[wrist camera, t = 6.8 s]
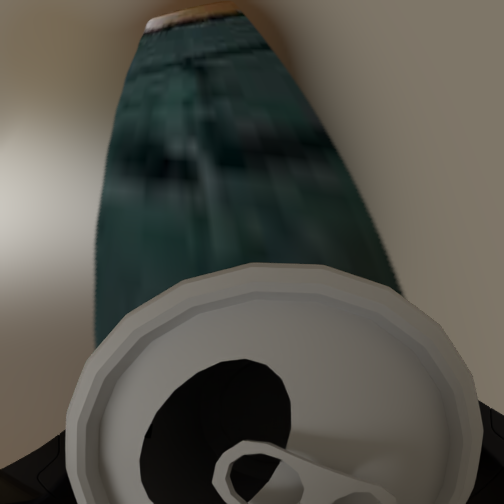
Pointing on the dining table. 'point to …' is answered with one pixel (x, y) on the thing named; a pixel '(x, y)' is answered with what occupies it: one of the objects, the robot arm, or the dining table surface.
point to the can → (275, 397)
